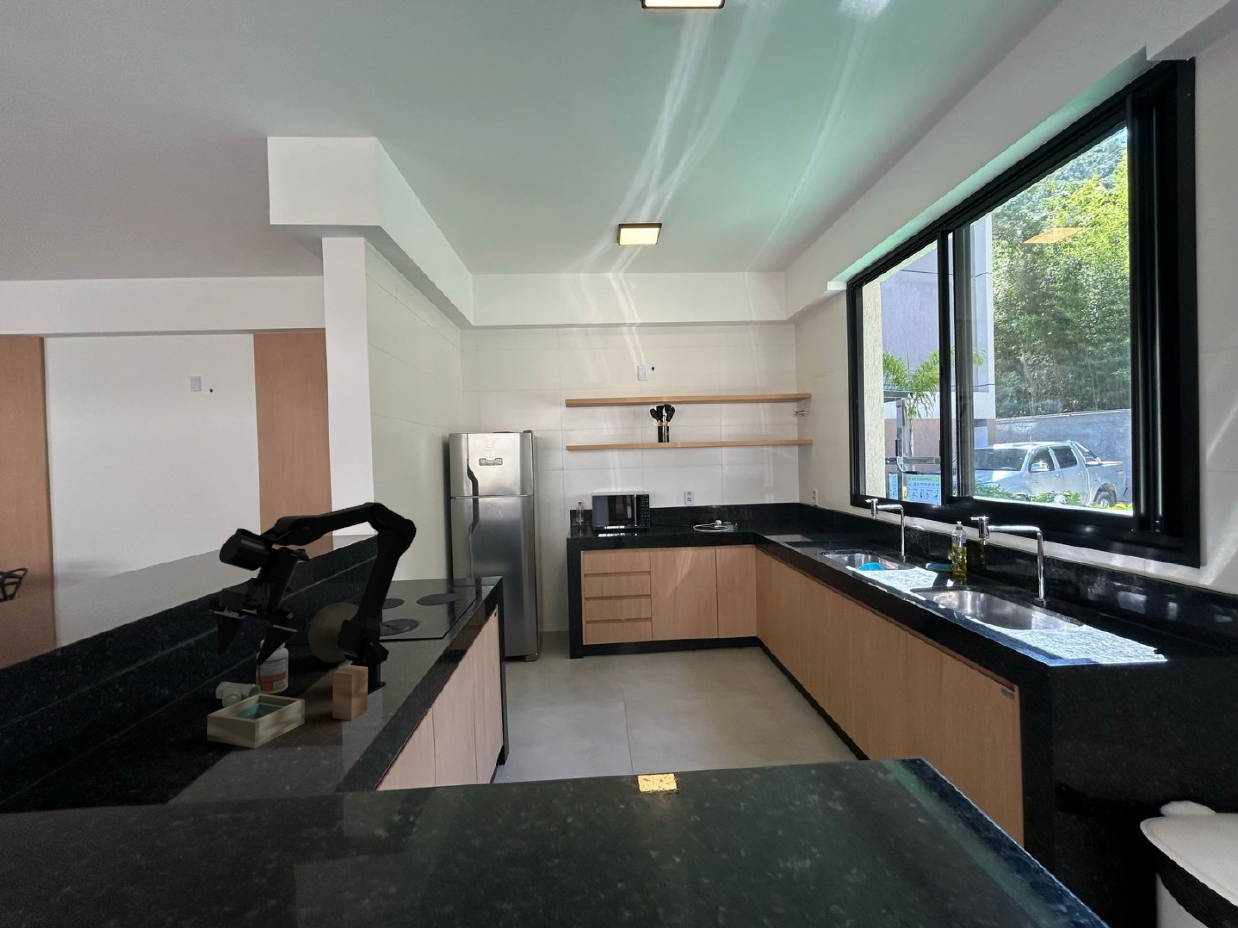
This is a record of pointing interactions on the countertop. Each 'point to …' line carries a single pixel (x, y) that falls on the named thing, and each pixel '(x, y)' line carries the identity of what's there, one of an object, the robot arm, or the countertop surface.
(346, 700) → the peg
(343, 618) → the cantaloupe
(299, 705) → the socket box
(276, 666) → the pill bottle
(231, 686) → the pipe fitting
